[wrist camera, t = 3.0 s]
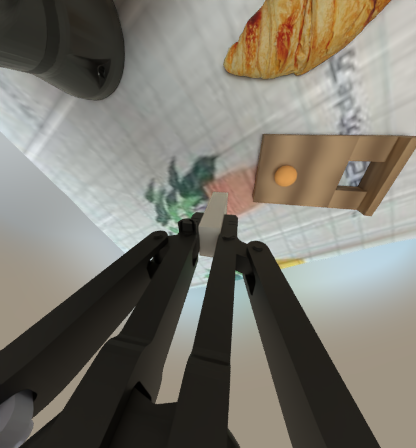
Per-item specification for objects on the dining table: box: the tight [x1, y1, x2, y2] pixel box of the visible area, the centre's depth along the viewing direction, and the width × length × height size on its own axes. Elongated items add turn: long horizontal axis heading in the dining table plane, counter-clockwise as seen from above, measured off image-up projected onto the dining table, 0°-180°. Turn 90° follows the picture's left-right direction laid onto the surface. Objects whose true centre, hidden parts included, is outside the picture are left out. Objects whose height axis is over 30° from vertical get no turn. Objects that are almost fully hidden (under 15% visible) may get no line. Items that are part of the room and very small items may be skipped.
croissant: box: [223, 0, 391, 79], centre depth 17 cm, size 21×10×8 cm, turn 114°
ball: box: [274, 165, 297, 187], centre depth 25 cm, size 3×3×3 cm
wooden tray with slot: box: [253, 134, 416, 216], centre depth 26 cm, size 20×11×4 cm, turn 90°
